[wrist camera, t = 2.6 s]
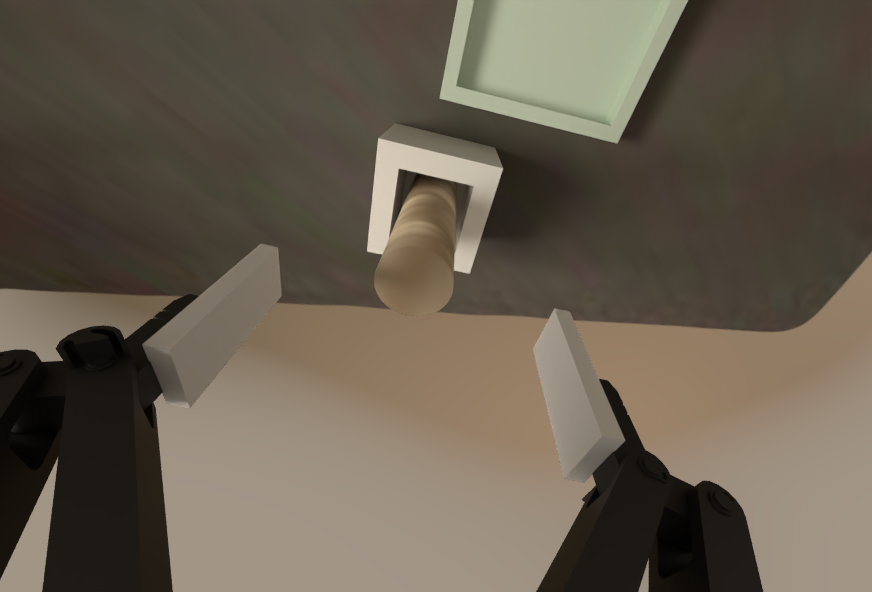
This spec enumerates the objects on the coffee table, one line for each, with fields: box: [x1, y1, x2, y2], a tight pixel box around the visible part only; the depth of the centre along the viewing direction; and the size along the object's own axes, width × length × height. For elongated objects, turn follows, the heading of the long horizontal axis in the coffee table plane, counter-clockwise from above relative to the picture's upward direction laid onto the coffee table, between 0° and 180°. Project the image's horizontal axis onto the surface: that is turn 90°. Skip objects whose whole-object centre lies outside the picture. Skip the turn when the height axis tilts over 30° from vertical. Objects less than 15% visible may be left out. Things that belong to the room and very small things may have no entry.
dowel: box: [374, 173, 457, 316], centre depth 23 cm, size 4×4×16 cm
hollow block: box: [367, 123, 503, 274], centre depth 27 cm, size 9×9×7 cm
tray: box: [440, 0, 688, 143], centre depth 22 cm, size 14×12×2 cm
